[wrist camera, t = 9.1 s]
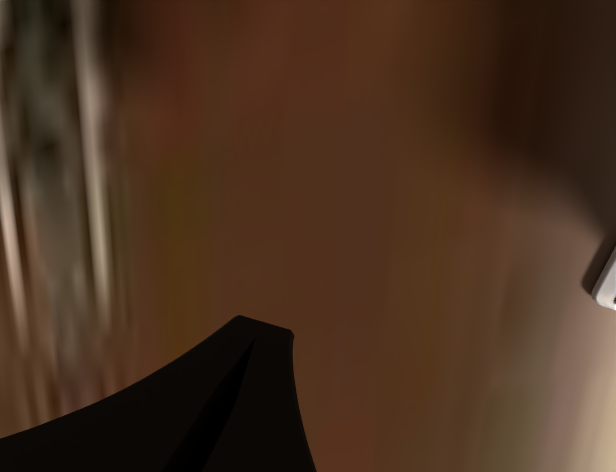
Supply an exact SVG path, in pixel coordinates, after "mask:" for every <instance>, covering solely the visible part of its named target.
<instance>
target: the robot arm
mask: <svg viewBox="0 0 616 472" xmlns="http://www.w3.org/2000/svg"><path fill="white" fill-rule="evenodd" d="M591 295H592V298H593V300H594V301H595V302H596V303H597V304H598V305H600V306H602V307H605V308H609V309H612V310H616V301H614V298H615V297H616V247H615V249H614V251H613V252H612V254H611V256H610V258H609V260H608V262H607V264H606V266H605V267H604V269H603V271H602V273H601V275H600V277H599V279H598V281H597V282H596V284H595V286H594V288H593V290H592V294H591ZM293 340H294V334H293V333H292V331H291V330H289V329H285V328H282V327H279V326H275V325H272V324H268V323H265V322H262V321H258V320H255V319H251V318H248V317H244V316H241V315H238V316H236V317H234V318H233V319H231V320H230V321H229V322H228V323H226V324H225V325H224V326H223V327H221V328H220V329H219V330H217V331H216V332H215V333H213V334H212V335H211V336H209V337H208V338H206V339H205V340H204V341H202V342H201V343H199V344H198V345H196V346H195V347H194V348H192V349H191V350H189V351H188V352H186V353H185V354H183V355H182V356H180V357H179V358H177V359H176V360H174V361H172V362H171V363H169V364H167V365H166V366H164V367H162V368H161V369H159V370H157V371H155V372H154V373H152V374H150V375H149V376H147V377H145V378H144V379H142V380H140V381H138V382H136V383H134V384H132V385H131V386H129V387H127V388H125V389H123V390H121V391H119V392H117V393H115V394H113V395H111V396H109V397H107V398H104V399H102V400H100V401H98V402H96V403H94V404H91V405H89V406H87V407H84V408H82V409H80V410H77V411H75V412H72V413H70V414H67V415H64V416H62V417H59V418H57V419H54V420H52V421H49V422H47V423H44V424H42V425H39V426H36V427H34V428H31V429H28V430H25V431H22V432H19V433H16V434H13V435H10V436H7V437H4V438H1V439H0V472H317V471H316V468H315V465H314V462H313V459H312V456H311V453H310V449H309V446H308V443H307V439H306V435H305V431H304V427H303V423H302V419H301V414H300V410H299V405H298V400H297V393H296V386H295V380H294V371H293Z"/></svg>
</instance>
